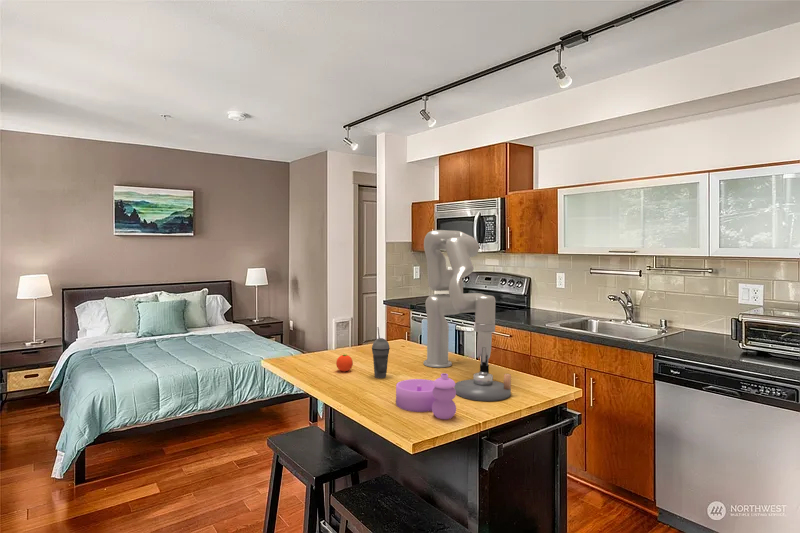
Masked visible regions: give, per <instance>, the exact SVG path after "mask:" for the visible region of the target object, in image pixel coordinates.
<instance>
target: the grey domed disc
mask: <svg viewBox="0 0 800 533" xmlns="http://www.w3.org/2000/svg"><path fill="white" fill-rule="evenodd" d="M473 379H474V378H471V379H464V380H459V381H456V382H455V387H454V388H455V390H456V395H457V396H458V397H460V398H463V399H467V400H472V401H479V402H480V401H481V402H494V401H495V402H497V401H503V400H507V399H509V398H511V393H512V392H511V390H512V385H511V384H512V374H509V373H504V375H503V382H501V381H497V380H493V384H492V385H489V386H481V385H476V384H474V383H473Z"/></svg>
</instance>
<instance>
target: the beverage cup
mask: <svg viewBox="0 0 800 533" xmlns="http://www.w3.org/2000/svg"><path fill="white" fill-rule="evenodd" d="M377 336H378V338H376V339H375V340H374V341H373V342H372V346H371V352H372V358H373V360H372V361H373V373H374V378H376V379H386V378H385V377H387V371H388V363H389V362H388V361H389V353H390V348H391V347H390V344H389V342H388V340H387V339H385V338H382V337H381V336H380V329H379V326H378V327H377Z"/></svg>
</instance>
